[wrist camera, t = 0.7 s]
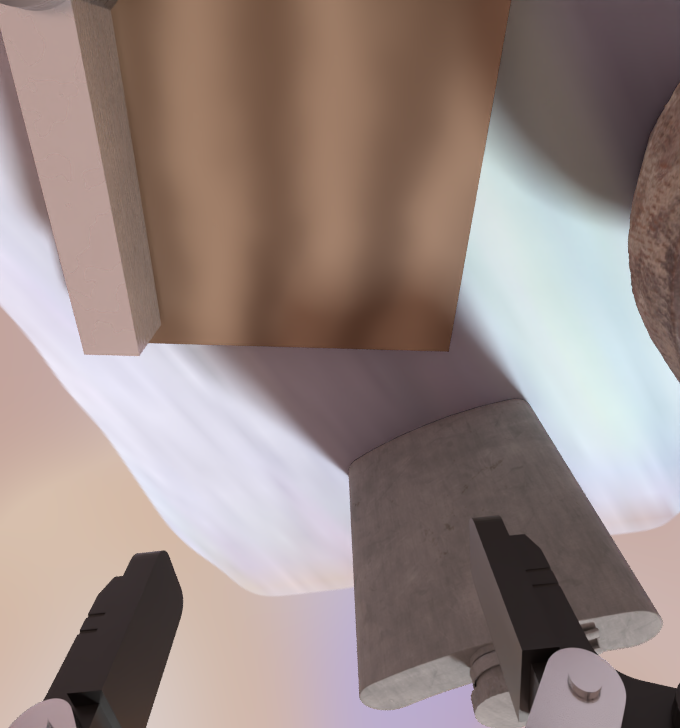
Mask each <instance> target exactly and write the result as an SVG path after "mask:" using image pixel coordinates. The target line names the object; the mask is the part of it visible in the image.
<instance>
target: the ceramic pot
mask: <svg viewBox="0 0 680 728" xmlns="http://www.w3.org/2000/svg"><path fill="white" fill-rule="evenodd" d="M664 107H665V108H664V110H663V112H662V113H661V115H660V117H659V118H657V122H656V124H655V126H654V128H653V130H652V131H651V133H650V136H649V140H648V145H647V148H646V151H645V154H644V159H643V163H642V167H641V170H640V174H639V177H638V181H637V186H636V189H635V192H634V196H633V202H632V210H631V215H630V229H629V236H628V253H629V268H630V272H631V285H632V292H633V294H634V298H635V302H636V306H637V308H638V311H639V313H640V315H641V318H642V320H643V323H644V325H645V327H646V329H647V331H648V333H649V336H650V338H651V340H652V341H653V343H654V344H655V346H656V347H657V349H658V350H659V352H660V353H661V355H662V356H663V358H664V360H665V362H666V363H667V364H668V366H669V368H670V369H671V371H672V372H673V373H674V375H675V377H676V378H677V380H678V381H679V382H680V82H679V84H678V85H677V87H676V88H675V90H674V92H673V94H672V96H671V98H670V100H669V102H668V103H667V104H666V105H665V106H664Z"/></svg>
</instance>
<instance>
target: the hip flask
mask: <svg viewBox="0 0 680 728" xmlns="http://www.w3.org/2000/svg"><path fill="white" fill-rule="evenodd" d="M349 490H350V511H351V532H352V553H353V573H354V594H355V614H356V635H357V655H358V677H359V697H360V700H361V701H362V703H364V704H365V705H366V706H368V707H370V708H373V709H378V710H395V709H400V708H403V707H406V706H408V705H411V704H413V703H416V702H418V701H421V700H423V699H426V698H429V697H431V696H434V695H437V694H440V693H442V692H446V691H449V690H451V689H455V688H458V687H461V686H464V685H467V684H470V683H473V687H474V690H473V691H472V695H471V700H472V704H473V708H474V713H475V716H476V719H477V720H478V722H480V723H481V724H483V725H485V726H488V727H491V728H521V727H524V726H526V723H527V722H519V721H518V718H517V715H516V712H515V709H514V706H513V703H512V700H511V697H510V694H509V691H508V687H507V684H506V681H505V678H504V675H503V672H502V669H501V666H500V663H499V660H498V657H497V653H496V650H495V647H494V644H493V641H492V638H491V635H490V632H489V629H488V626H487V623H486V619H485V616H484V613H483V610H482V607H481V604H480V601H479V598H478V595H477V592H476V588H475V585H474V581H473V577H472V572H471V565H470V529H469V521H470V518H475V517H485V516H494V515H499V516H500V517H501V518H502V520H503V522H504V524H505V527H506V529H507V531H508V533H509V535H519V534H525V535H526V536H527V537H529V538H530V539H531V540H532V541H533V542H534V543H535V544H536V545H537V546H539V547H540V548H541V550H542V552H543V554H544V555H545V557H546V559H547V561H548V563H549V565H550V567H551V571H553V573H554V575H555V577H556V579H557V581H558V584H559V586H561V588H562V590H563V592H564V594H565V596H566V598H567V600H568V602H569V604H570V606H571V608H572V610H573V612H574V614H575V615H576V617H577V619H578V621H579V623H580V625H581V627H582V629H583V631H584V633H585V635H586V637H587V639H588V641H589V643H590V644H591V646H592V648H593V649H594V650H595V652H596V653H597V654H601V653H603V652H605V651H611V650H617V649H624V648H629V647H634V646H637V645H640V644H643V643H645V642H647V641H649V640H651V639H652V638H653V637H655V636H656V635H657V634H658V633H659V632H660V630H661V628H662V625H663V621H662V619H661V617H660V615H659V614H658V612H657V610H656V609H655V607H654V605H653V604H652V602H651V600H650V599H649V597H648V596H647V594H646V592H645V591H644V589H643V587H642V586H641V584H640V583H639V581H638V579H637V578H636V576H635V575H634V573H633V572H632V570H631V568H630V566H629V565H628V563H627V562H626V560H625V558H624V557H623V555H622V554H621V552H620V550H619V549H618V547H617V545H616V544H615V543H614V541H613V539H612V537H611V536H610V534H609V532H608V531H607V529H606V528H605V526H604V524H603V523H602V521H601V519H600V518H599V516H598V515H597V513H596V511H595V510H594V508H593V506H592V505H591V503H590V502H589V500H588V498H587V497H586V495H585V494H584V492H583V490H582V489H581V487H580V485H579V484H578V482H577V481H576V479H575V477H574V476H573V474H572V472H571V471H570V469H569V468H568V466H567V464H566V463H565V461H564V460H563V458H562V456H561V455H560V453H559V451H558V450H557V448H556V447H555V445H554V443H553V442H552V440H551V438H550V437H549V435H548V434H547V432H546V430H545V429H544V427H543V426H542V424H541V422H540V421H539V419H538V417H537V416H536V414H535V413H534V411H533V409H532V408H531V406H530V405H529V404H528V403H527V402H526V401H524V400H521V399H510V400H506V401H501V402H497V403H493V404H489V405H485V406H481V407H477V408H474V409H471V410H467V411H464V412H461V413H458V414H455V415H452V416H449V417H446V418H443V419H440V420H438V421H435V422H433V423H430V424H428V425H425V426H423V427H420V428H418V429H415V430H413V431H411V432H408V433H406V434H404V435H401V436H399V437H397V438H395V439H393V440H391V441H389V442H387V443H385V444H383V445H381V446H379V447H377V448H375V449H374V450H372V451H370V452H368V453H367V454H365V455H363V456H362V457H360V458H358V459H357V460H355V461H354V462H353V463H352V464H351V465H350V467H349Z"/></svg>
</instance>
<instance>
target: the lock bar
mask: <svg viewBox="0 0 680 728" xmlns="http://www.w3.org/2000/svg"><path fill="white" fill-rule="evenodd" d="M117 1H118V0H0V30H1V34H2V37H3V41H4V45H5V49H6V53H7V57H8V61H9V64H10V68H11V72H12V76H13V80H14V84H15V88H16V92H17V95H18V99H19V103H20V107H21V111H22V115H23V119H24V123H25V126H26V130H27V134H28V138H29V142H30V146H31V150H32V154H33V157H34V161H35V165H36V169H37V173H38V177H39V181H40V184H41V188H42V192H43V196H44V200H45V204H46V208H47V212H48V215H49V219H50V223H51V227H52V231H53V235H54V239H55V243H56V246H57V250H58V254H59V258H60V262H61V266H62V270H63V274H64V277H65V281H66V285H67V289H68V293H69V297H70V301H71V304H72V308H73V312H74V316H75V320H76V324H77V328H78V332H79V335H80V339H81V343H82V347H83V351H84V354H86V355H122V356H140V354H141V353H142V352H143V350H144V349H145V347H146V346H147V344H148V343H149V341H150V340H151V339H152V337H153V336H154V334H155V333H156V331H157V330H158V328H159V327H160V326H161V321H160V314H159V308H158V302H157V296H156V290H155V283H154V277H153V271H152V265H151V258H150V252H149V246H148V240H147V233H146V227H145V221H144V215H143V209H142V202H141V196H140V190H139V184H138V177H137V171H136V165H135V159H134V153H133V146H132V140H131V134H130V128H129V121H128V115H127V109H126V103H125V96H124V90H123V84H122V78H121V72H120V65H119V59H118V53H117V47H116V40H115V34H114V28H113V22H112V15H111V9H112V8H113V7H114V6H115V4H116V3H117Z"/></svg>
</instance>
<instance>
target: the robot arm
mask: <svg viewBox="0 0 680 728" xmlns="http://www.w3.org/2000/svg"><path fill="white" fill-rule="evenodd" d="M469 529H470V565H471V572H472V577H473V581H474V585H475V588H476V592H477V595H478V598H479V601H480V604H481V607H482V610H483V613H484V616H485V619H486V623H487V626H488V629H489V632H490V635H491V638H492V641H493V644H494V647H495V650H496V653H497V657H498V660H499V663H500V666H501V669H502V672H503V675H504V678H505V681H506V684H507V687H508V691H509V694H510V697H511V700H512V703H513V706H514V709H515V712H516V715H517V718H518V721H519V722H527V723H526V726H525V728H680V684H679V685H678V687H677V688H673V687H668V686H663V685H659V684H655V683H650V682H645V681H641V680H638V679H634V678H631V677H629V676H626V675H624V674H622V673H620V672H618V671H617V670H615V669H614V668H613V667H612V666H611V665H610V664H609V663H608V662H607V661H606V660H604V659H602V658H601V657H600V656H598V654H597V653H596V652H595V650H594V649H593V648H592V646H591V644H590V643H589V641H588V639H587V637H586V635H585V633H584V631H583V629H582V627H581V625H580V623H579V621H578V619H577V617H576V615H575V614H574V612H573V610H572V608H571V606H570V604H569V602H568V600H567V598H566V596H565V594H564V592H563V590H562V588H561V586H559V584H558V581H557V579H556V577H555V575H554V573H553V571H551V567H550V565H549V563H548V561H547V559H546V557H545V555H544V554H543V552H542V550H541V548H540V547H539V546H537V545H536V544H535V543H534V542H533V541H532V540H531V539H530V538H529V537H527V536H526V535H525V534H519V535H509V533H508V531H507V529H506V527H505V524H504V522H503V520H502V518H501V517H500V516H499V515H494V516H485V517H475V518H470V521H469ZM182 609H183V595H182V590H181V587H180V584H179V582H178V579H177V576H176V574H175V571H174V568H173V566H172V563H171V560H170V557H169V555H168V553H167V552H166V551H155V552H146V553H137V554H135V555H134V556H133V557H132V559H131V561H130V563H129V565H128V567H127V569H126V571H125V573H124V575H123V576H119V577H114V578H113V579H112V580H111V581H110V582H109V584H108V585H107V586H106V587H105V588H104V589H103V590H102V591H101V592H100V593H99V594H98V596H97V598H96V600H95V602H94V604H93V606H92V608H91V610H90V612H89V613H88V618H86V619H85V621H84V623H83V625H82V627H81V629H80V634H79V635H77V637H76V639H75V641H74V643H73V644H72V646H71V648H70V651H69V652H68V654H67V657H66V658H65V660H64V662H63V664H62V666H61V668H60V670H59V672H58V674H57V675H56V678H55V679H54V681H53V683H52V685H51V687H50V689H49V691H48V693H47V695H46V697H45V699H44V700H43V701H42V702H40V703H38V704H36V705H34V706H32V707H30V708H29V709H28V710H26V711H25V712H24V713H22V715H20V716H19V717H18V718H17V719H16V720H15V721H14V722H13V723H12V724H11V726H10V727H9V728H146V726H147V722H148V719H149V716H150V713H151V710H152V707H153V703H154V700H155V697H156V694H157V691H158V688H159V685H160V681H161V678H162V675H163V672H164V669H165V665H166V662H167V659H168V656H169V653H170V650H171V647H172V643H173V640H174V637H175V634H176V630H177V628H178V625H179V621H180V618H181V614H182Z"/></svg>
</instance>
